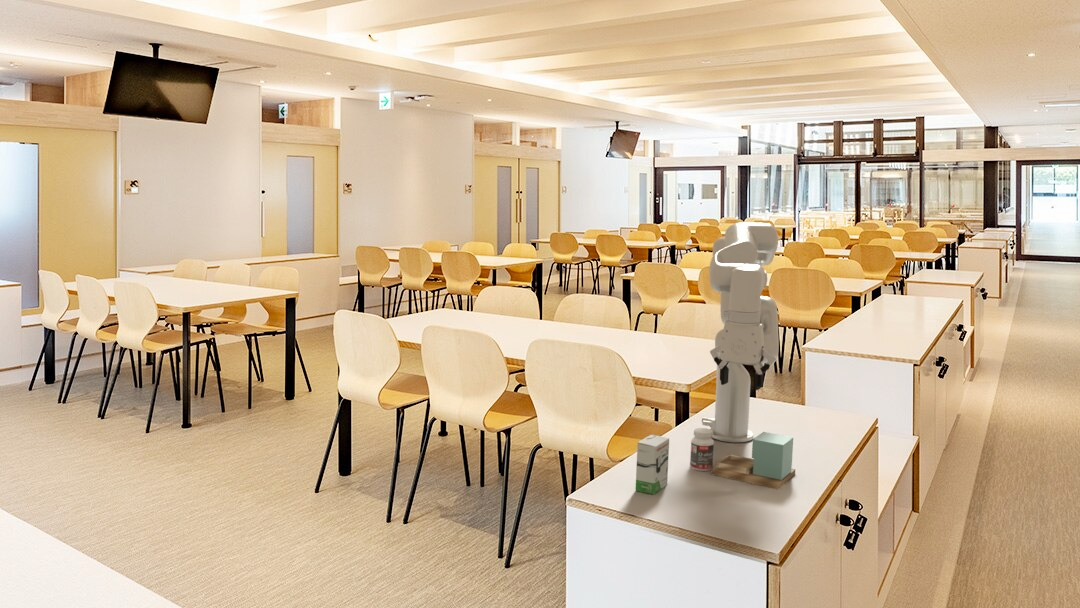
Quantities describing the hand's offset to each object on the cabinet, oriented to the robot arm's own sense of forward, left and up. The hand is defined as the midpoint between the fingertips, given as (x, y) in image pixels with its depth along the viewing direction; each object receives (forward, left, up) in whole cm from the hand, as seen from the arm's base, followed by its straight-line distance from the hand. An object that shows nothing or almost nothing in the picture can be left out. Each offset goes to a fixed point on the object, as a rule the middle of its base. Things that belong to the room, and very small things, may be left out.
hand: (740, 386), depth 208 cm
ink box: (-12, -23, -22) cm, 35 cm away
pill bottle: (-8, -3, -22) cm, 24 cm away
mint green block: (+9, 0, -21) cm, 22 cm away
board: (+4, 0, -22) cm, 22 cm away
